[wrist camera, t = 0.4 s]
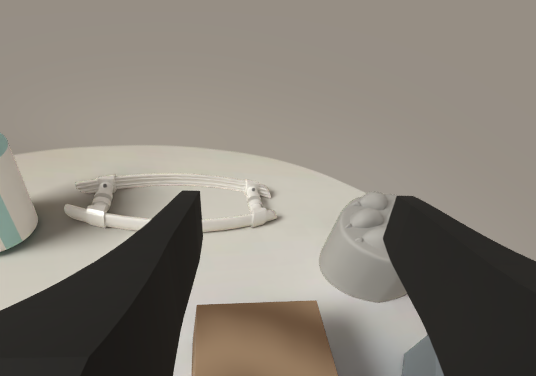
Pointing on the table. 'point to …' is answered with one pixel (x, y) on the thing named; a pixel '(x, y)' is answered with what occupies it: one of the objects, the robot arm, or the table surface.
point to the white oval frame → (110, 183)
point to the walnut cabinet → (261, 340)
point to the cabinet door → (422, 360)
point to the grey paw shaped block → (362, 251)
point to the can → (13, 201)
